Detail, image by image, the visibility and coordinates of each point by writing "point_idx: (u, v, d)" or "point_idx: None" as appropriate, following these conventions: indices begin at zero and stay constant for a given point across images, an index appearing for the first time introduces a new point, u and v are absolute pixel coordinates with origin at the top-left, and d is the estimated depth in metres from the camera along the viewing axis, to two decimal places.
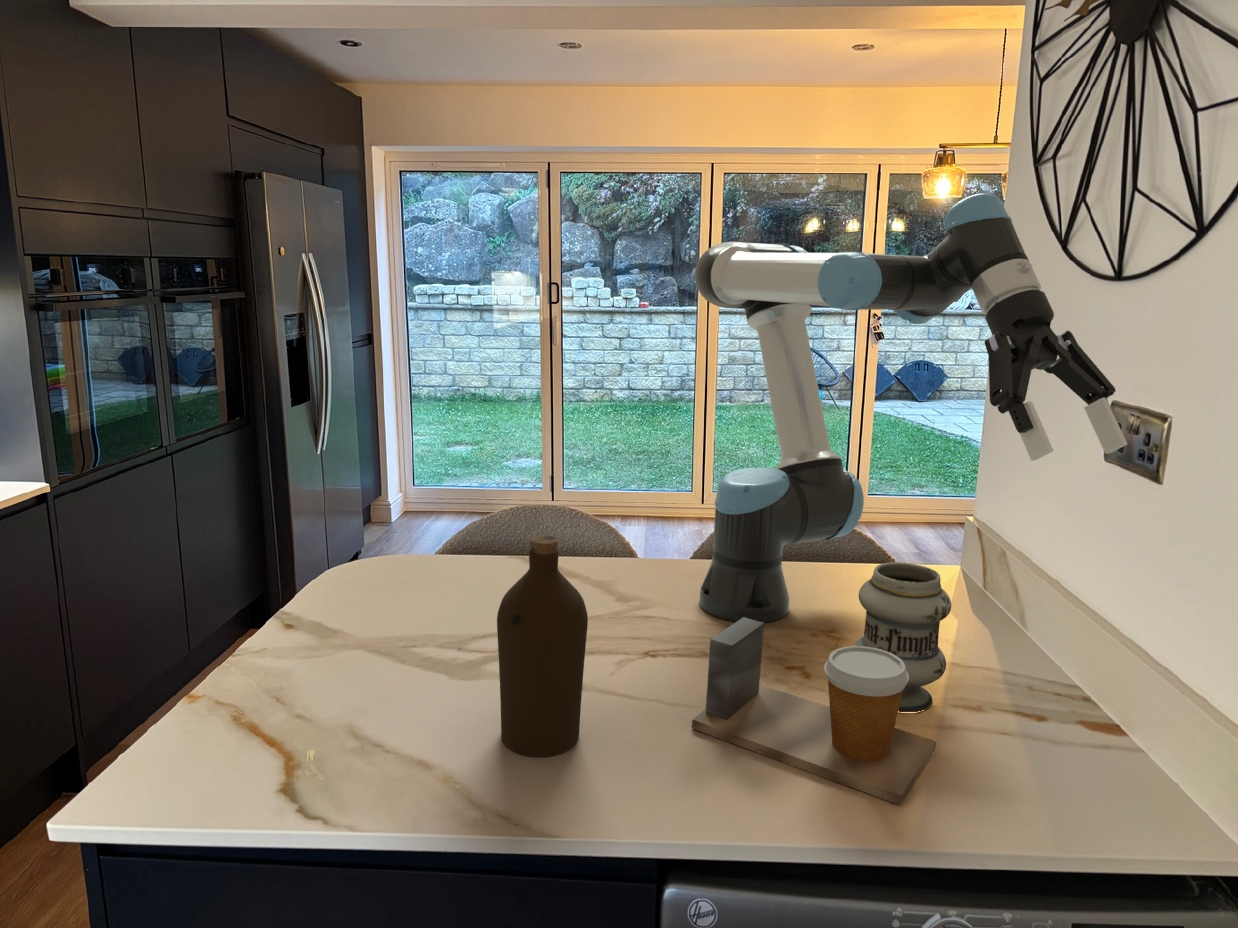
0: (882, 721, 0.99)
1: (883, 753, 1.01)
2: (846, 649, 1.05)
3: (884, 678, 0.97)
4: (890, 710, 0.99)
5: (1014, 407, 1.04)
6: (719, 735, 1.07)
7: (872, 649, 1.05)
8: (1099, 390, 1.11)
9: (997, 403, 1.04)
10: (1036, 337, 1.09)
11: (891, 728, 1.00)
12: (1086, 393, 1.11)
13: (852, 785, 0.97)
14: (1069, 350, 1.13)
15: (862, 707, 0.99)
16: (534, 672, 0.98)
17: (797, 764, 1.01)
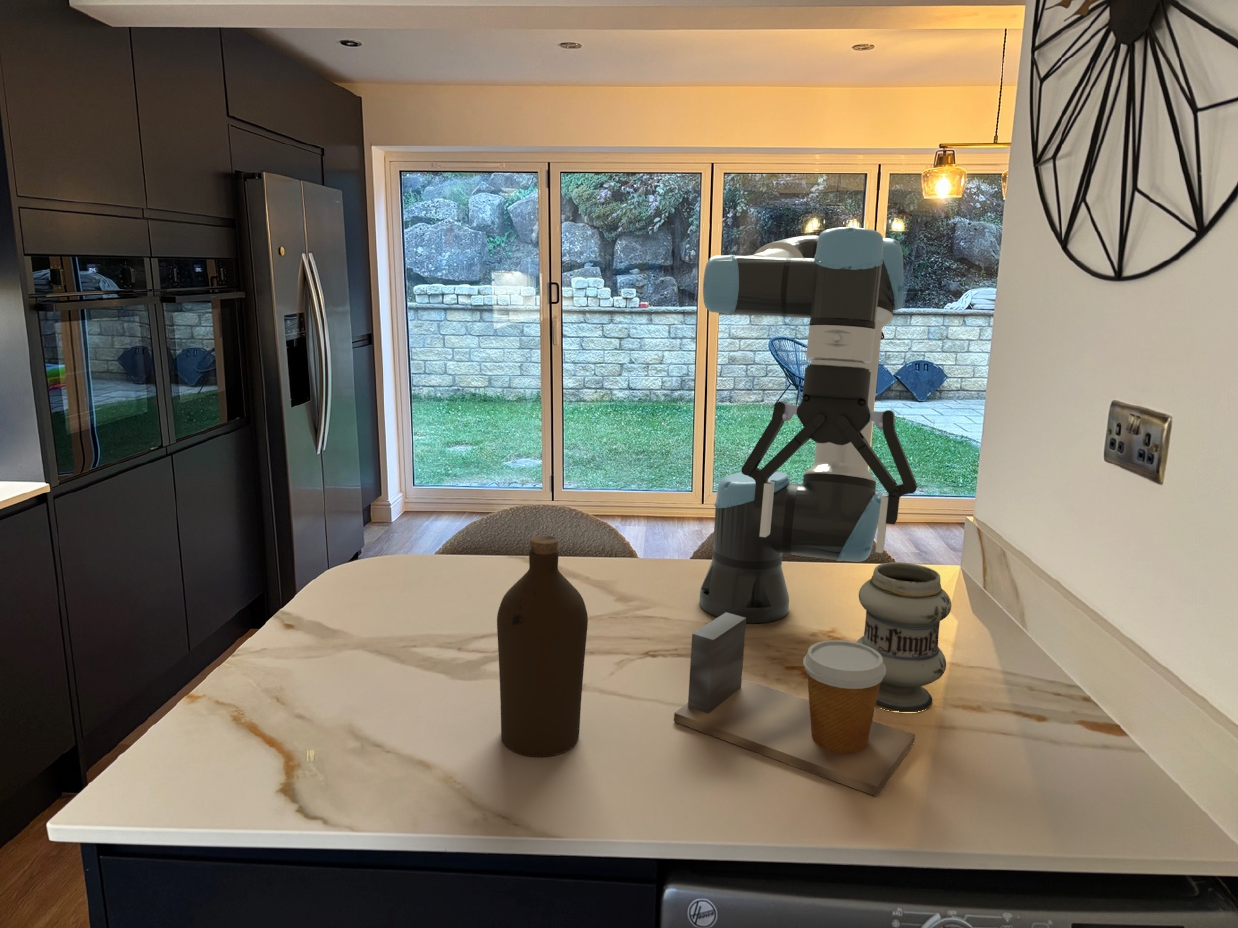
0: (856, 714, 1.00)
1: (859, 746, 1.02)
2: (828, 643, 1.07)
3: (858, 671, 0.99)
4: (865, 703, 1.00)
5: None
6: (700, 728, 1.08)
7: (854, 644, 1.06)
8: (886, 487, 1.00)
9: None
10: (818, 417, 1.02)
11: (867, 721, 1.02)
12: None
13: (830, 777, 0.99)
14: None
15: (837, 699, 1.00)
16: (534, 672, 0.98)
17: (776, 756, 1.03)
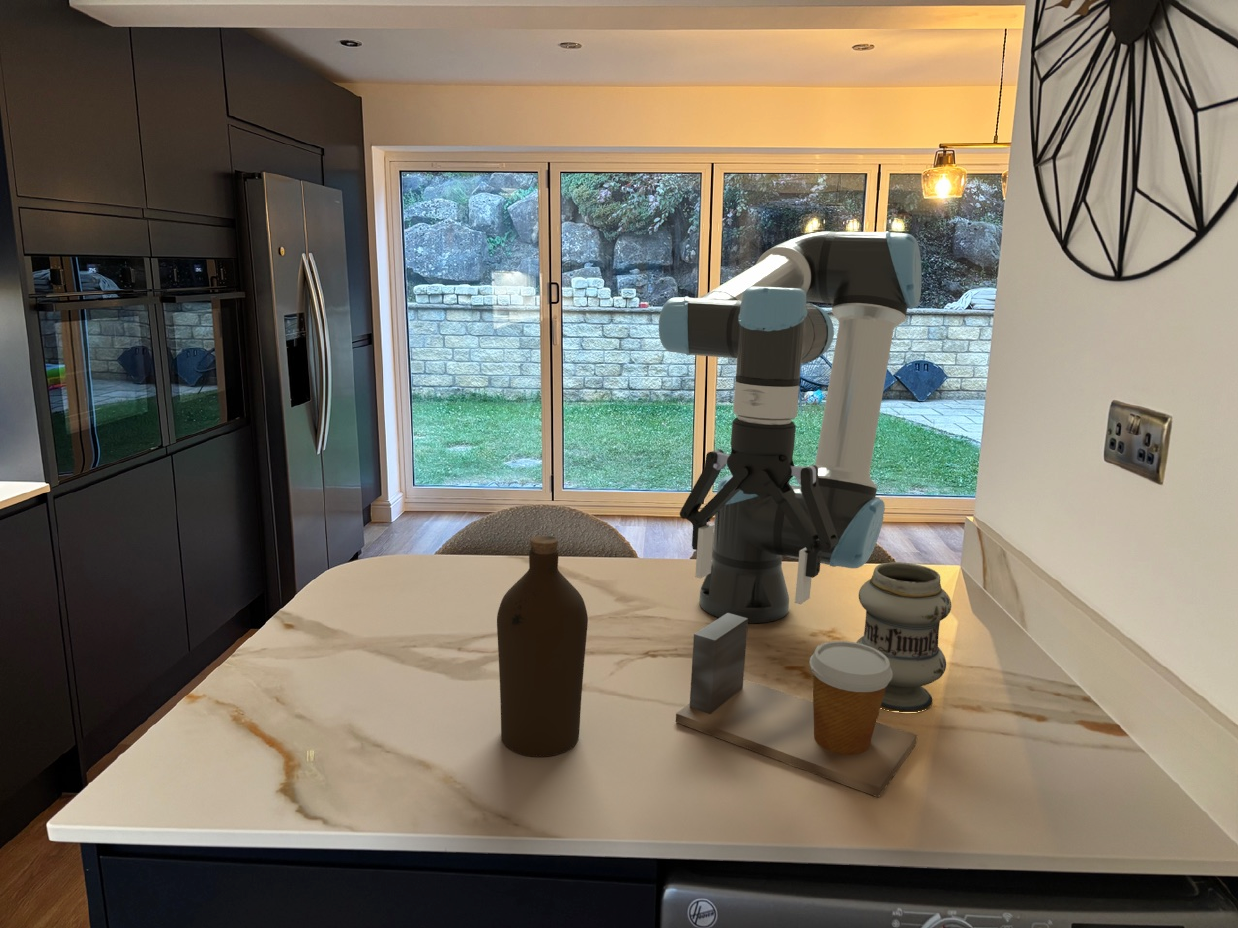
0: (863, 716, 1.00)
1: (863, 747, 1.02)
2: (833, 643, 1.06)
3: (867, 674, 0.98)
4: (872, 706, 1.00)
5: None
6: (702, 729, 1.08)
7: (858, 645, 1.06)
8: (804, 542, 1.02)
9: None
10: (741, 470, 1.05)
11: (872, 723, 1.02)
12: None
13: (832, 778, 0.99)
14: None
15: (844, 702, 1.00)
16: (534, 672, 0.98)
17: (778, 757, 1.02)
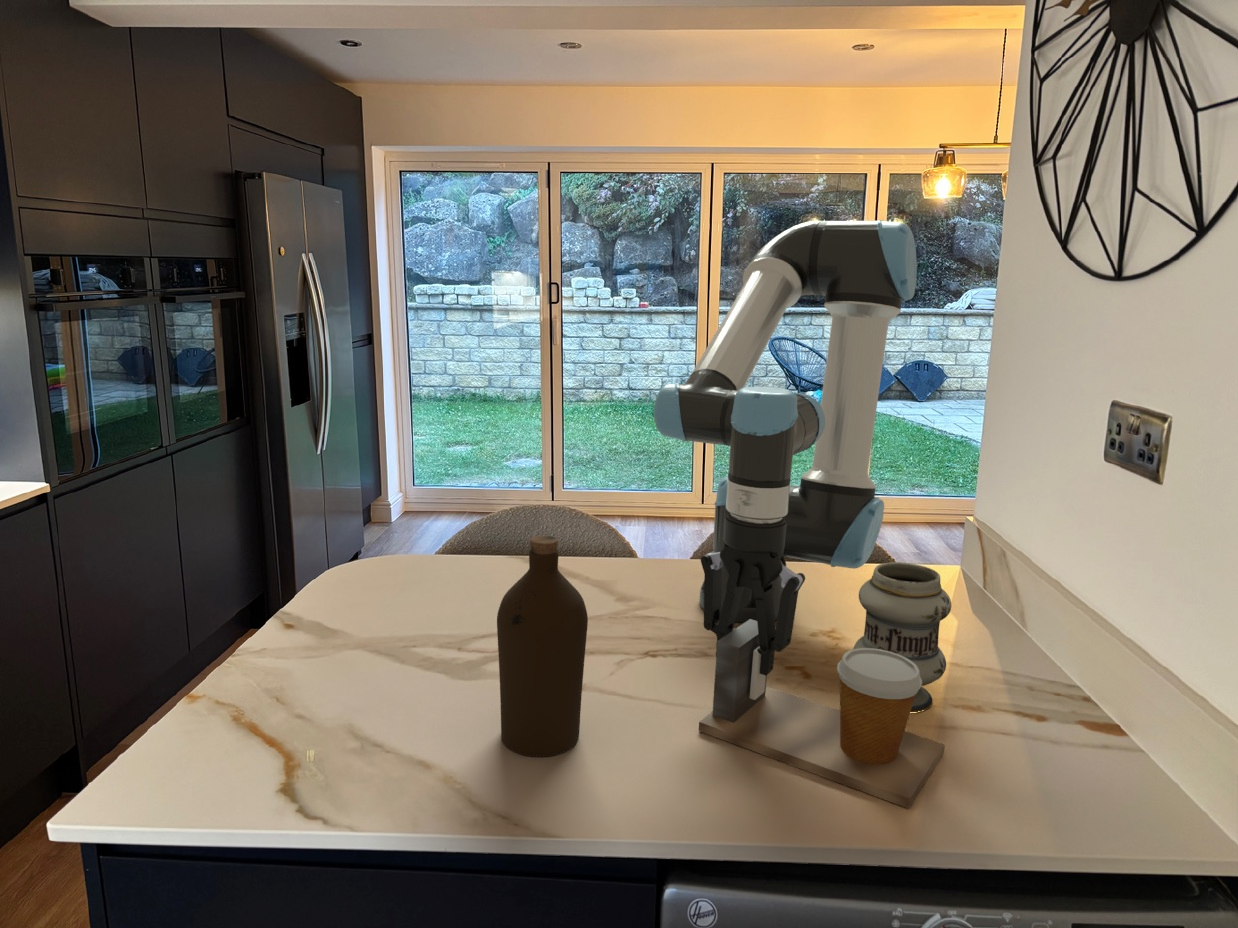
0: (892, 724, 0.99)
1: (891, 757, 1.01)
2: (860, 650, 1.05)
3: (898, 681, 0.97)
4: (902, 713, 0.99)
5: None
6: (726, 738, 1.06)
7: (886, 652, 1.04)
8: (760, 640, 1.08)
9: None
10: (733, 565, 1.07)
11: (901, 732, 1.00)
12: None
13: (860, 788, 0.97)
14: None
15: (874, 709, 0.98)
16: (534, 672, 0.98)
17: (805, 767, 1.01)
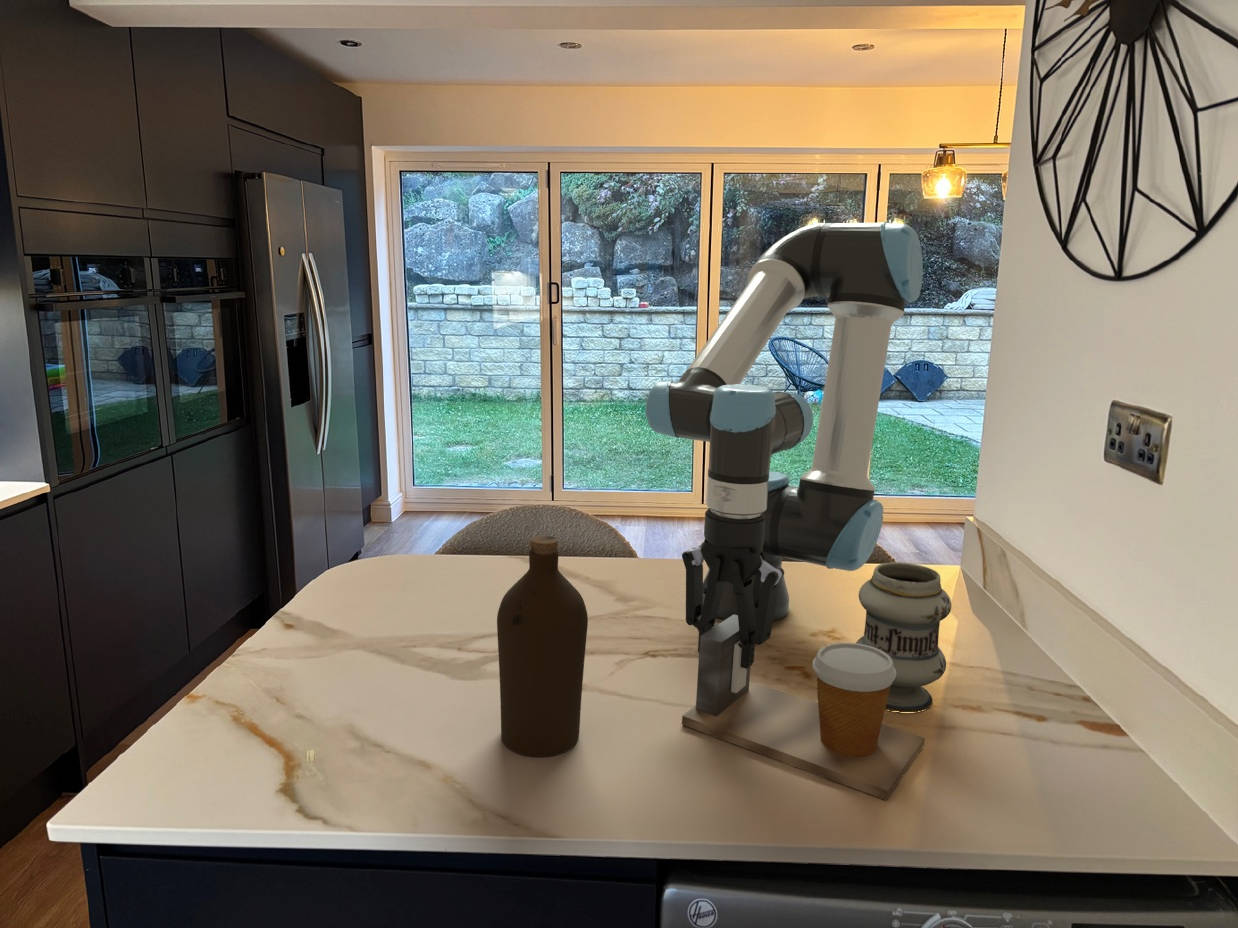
0: (869, 716, 1.00)
1: (871, 748, 1.02)
2: (835, 645, 1.06)
3: (871, 673, 0.98)
4: (878, 705, 1.00)
5: None
6: (708, 731, 1.07)
7: (860, 645, 1.06)
8: (741, 634, 1.10)
9: None
10: (714, 560, 1.09)
11: (878, 723, 1.01)
12: None
13: (840, 780, 0.98)
14: None
15: (850, 702, 0.99)
16: (534, 672, 0.98)
17: (785, 760, 1.02)
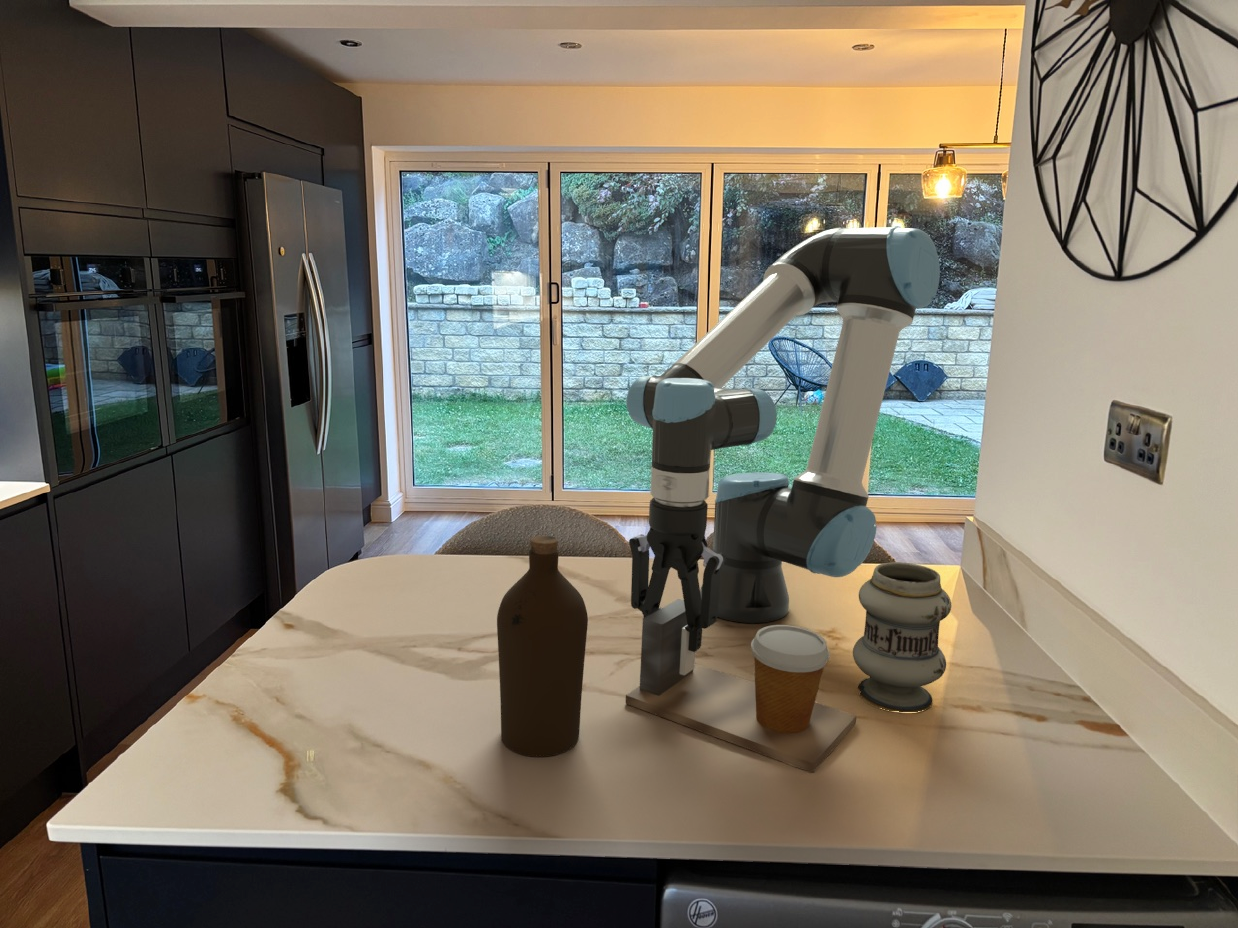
0: (797, 696, 1.04)
1: (800, 727, 1.06)
2: (777, 627, 1.10)
3: (800, 655, 1.03)
4: (807, 686, 1.04)
5: None
6: (650, 710, 1.12)
7: (802, 629, 1.10)
8: (688, 618, 1.14)
9: None
10: (658, 547, 1.14)
11: (808, 704, 1.06)
12: None
13: (770, 755, 1.03)
14: None
15: (779, 681, 1.04)
16: (534, 672, 0.98)
17: (720, 736, 1.07)
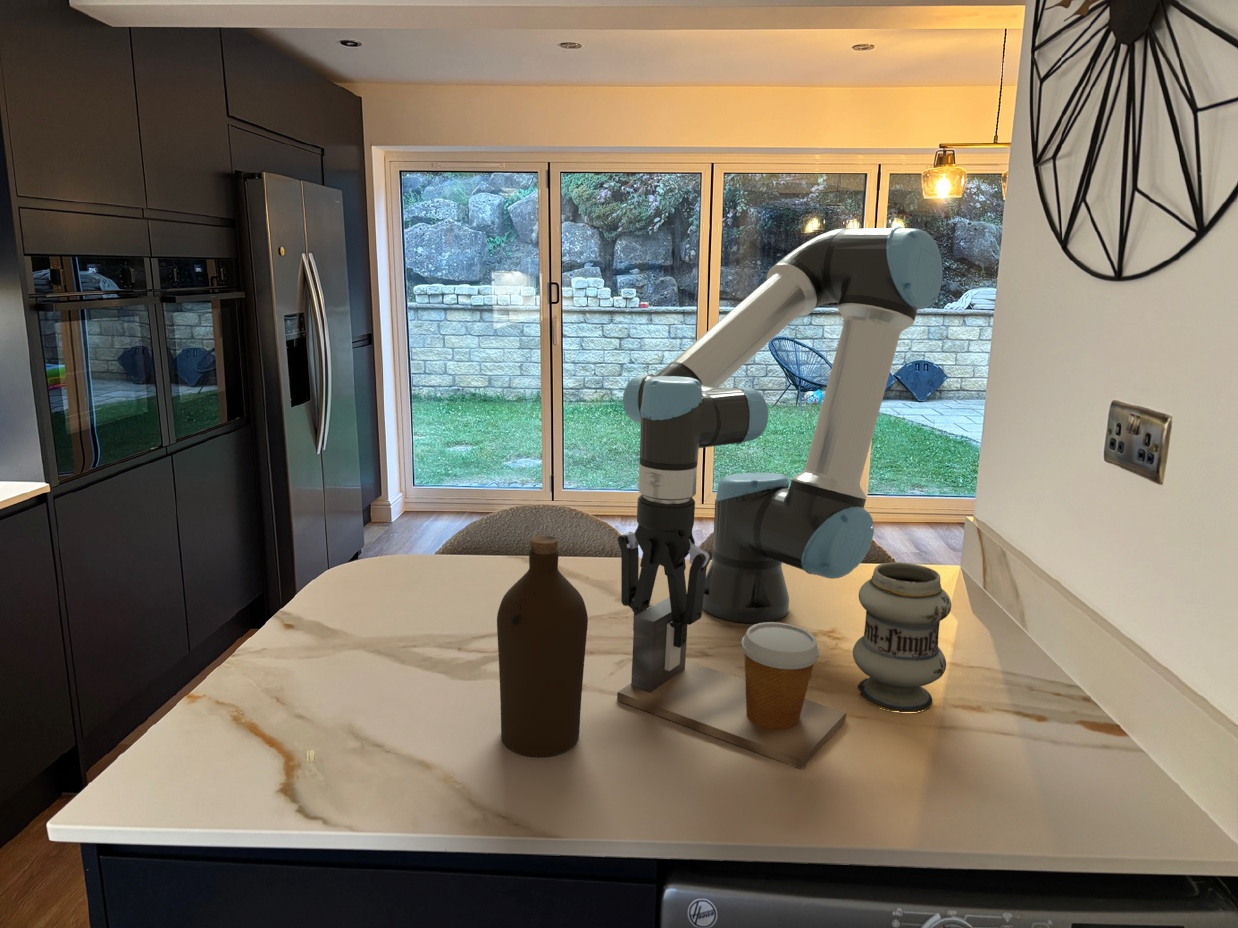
0: (787, 693, 1.05)
1: (790, 724, 1.07)
2: (768, 624, 1.11)
3: (790, 652, 1.03)
4: (796, 683, 1.05)
5: None
6: (641, 706, 1.13)
7: (792, 626, 1.11)
8: (673, 614, 1.15)
9: None
10: (646, 544, 1.15)
11: (798, 701, 1.06)
12: None
13: (759, 751, 1.04)
14: None
15: (769, 678, 1.05)
16: (534, 672, 0.98)
17: (711, 732, 1.07)
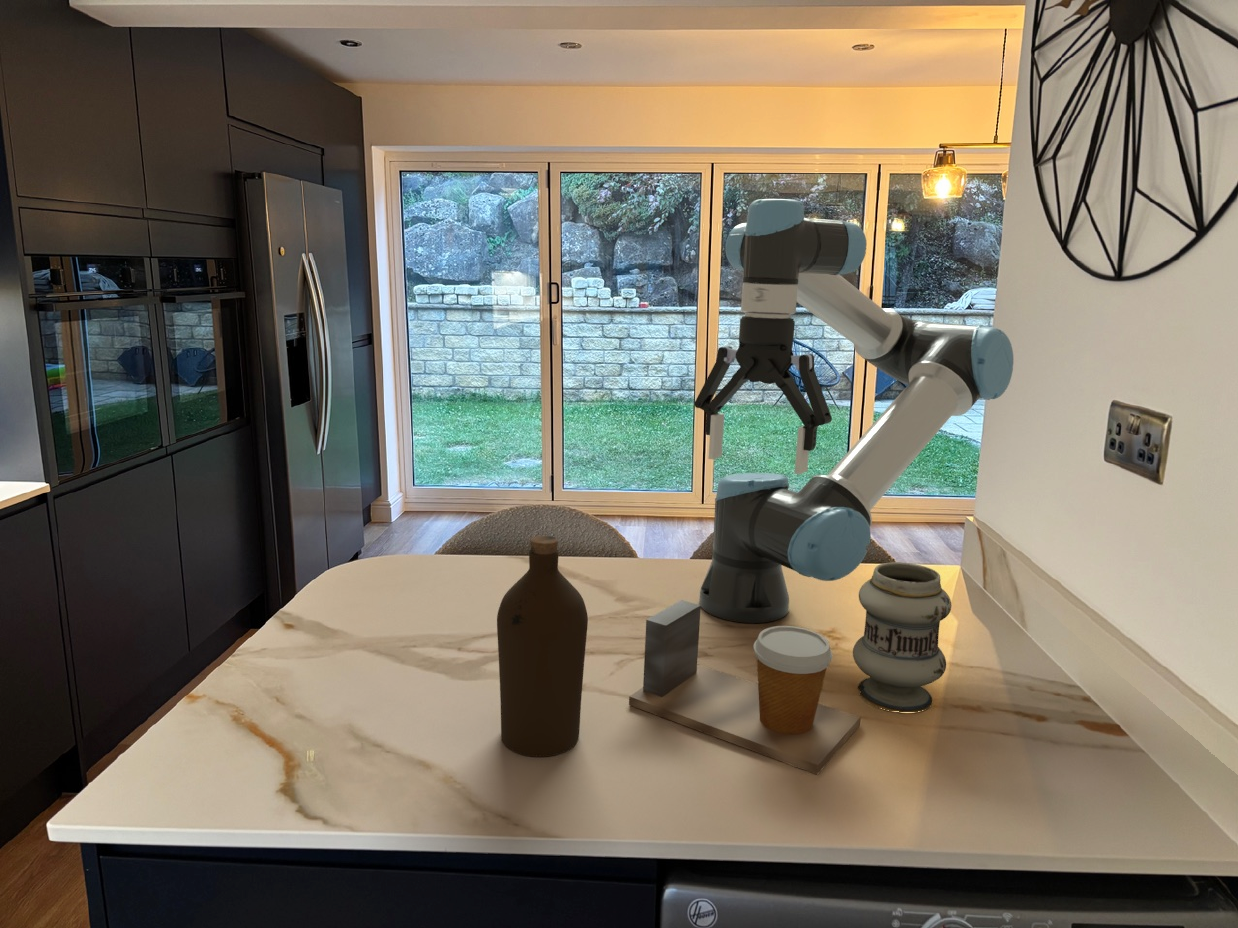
0: (800, 698, 1.04)
1: (803, 728, 1.06)
2: (780, 628, 1.10)
3: (802, 657, 1.02)
4: (809, 688, 1.04)
5: None
6: (653, 711, 1.12)
7: (805, 630, 1.10)
8: (802, 419, 1.19)
9: None
10: (748, 361, 1.22)
11: (811, 705, 1.05)
12: None
13: (774, 756, 1.03)
14: None
15: (781, 683, 1.04)
16: (534, 672, 0.98)
17: (724, 737, 1.06)
